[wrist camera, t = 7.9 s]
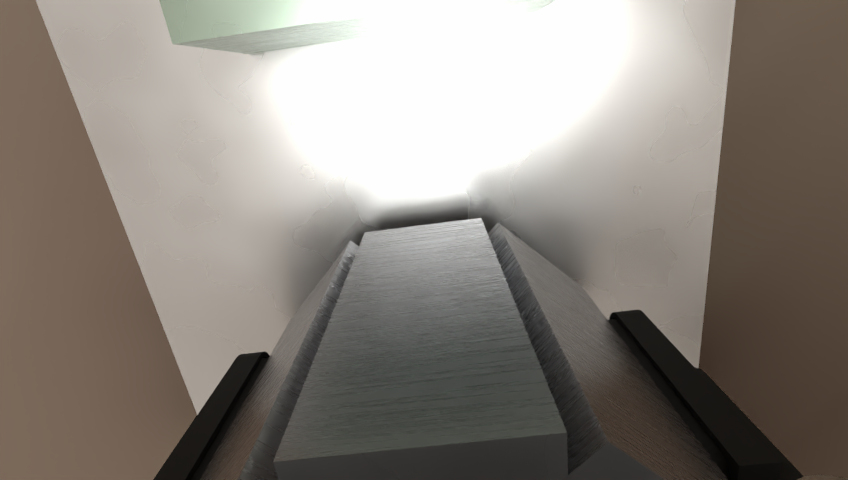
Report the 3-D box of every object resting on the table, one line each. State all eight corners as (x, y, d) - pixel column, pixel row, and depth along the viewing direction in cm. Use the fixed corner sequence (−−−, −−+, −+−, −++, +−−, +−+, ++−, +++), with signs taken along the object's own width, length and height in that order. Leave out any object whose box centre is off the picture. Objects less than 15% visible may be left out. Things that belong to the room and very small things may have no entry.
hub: (589, 459, 12) (745, 821, 6) (328, 484, 12) (240, 849, 6) (588, 204, 9) (849, 404, 4) (262, 245, 10) (24, 487, 4)
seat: (662, 537, 16) (781, 764, 10) (279, 572, 16) (212, 802, 11) (719, -161, 9) (1144, -503, 4) (50, -53, 9) (-404, -211, 4)
